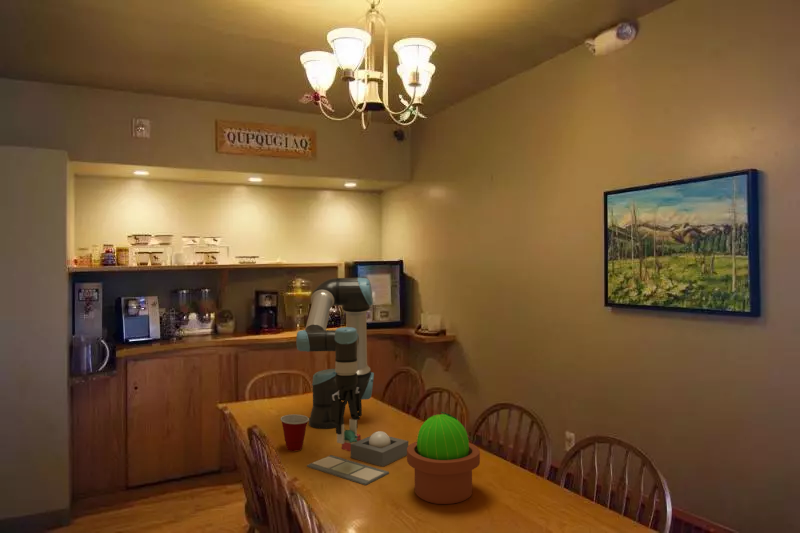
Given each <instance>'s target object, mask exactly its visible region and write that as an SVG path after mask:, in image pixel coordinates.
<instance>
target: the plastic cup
mask: <svg viewBox="0 0 800 533" xmlns="http://www.w3.org/2000/svg"><path fill="white" fill-rule="evenodd" d="M309 418H310V417H308V416H306V415H303V414H295V413H294V414H286V415H283V416H281V417H280V421H281V425H282V426H281V427H282V430H283V435H284V441H285V445H286V450H287V451H288V452H298V451H301V450H302V449H303V446H304V440H305V435H306V431H307V430H306V429H307V427H308V426H307V425H308V423H309Z"/></svg>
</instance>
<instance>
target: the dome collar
mask: <svg viewBox="0 0 800 533" xmlns="http://www.w3.org/2000/svg"><path fill="white" fill-rule="evenodd" d="M388 436H389V435H388ZM370 437H371V435H369V436H366V437H365V438H361V440H359V441H357V442H356V443H352V444H351V451H350V458H351V459H354V460H358V461H360V462H364V463H368V464H371V465H375V466H379V467H385V466H388V465H389V464H392V463H393V462H396V461H398V460H400V459H402V458H405V457H407V447H408V446H409V440H406V439H401V438H396V437H393V436H389V438H390V441H391V444H390V445H388V446H386V447H384V448H382V449H381V448H377V447H374V446H370V445H369V439H370Z"/></svg>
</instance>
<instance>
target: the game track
mask: <svg viewBox="0 0 800 533" xmlns="http://www.w3.org/2000/svg"><path fill="white" fill-rule="evenodd" d="M306 467H307V468H310V469H312V470H317V471H319V472H322V473H326V474H329V475H332V476H336V477H338V478H342V479H344V480H348V481H352V482H354V483H357V484H360V485H364V486H367V485H369V484H371V483H373V482H376V481H377V480H379V479H381V478H384V477H386V476H387V475H389V474H390V472H389V471H388V470H384V469H380V468H377V467H374V466H370V465H367V464H365V463H364V464H363V463H360V462H357V461H353V460H349V459H345V458H343V457H340V456H335V455H331V454H330V455H327V456H326V457H323V458H321V459H318V460H315V461H313V462H310V463H309V464H306Z"/></svg>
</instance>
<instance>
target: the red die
mask: <svg viewBox="0 0 800 533" xmlns="http://www.w3.org/2000/svg"><path fill="white" fill-rule="evenodd" d="M357 436H358V438H357V439H356V440H357V441H359V440H362V438H361V434H359V433H357ZM341 449H342V450H345V451H349V452H351V444H350V443H346V442H344V444H341Z"/></svg>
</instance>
